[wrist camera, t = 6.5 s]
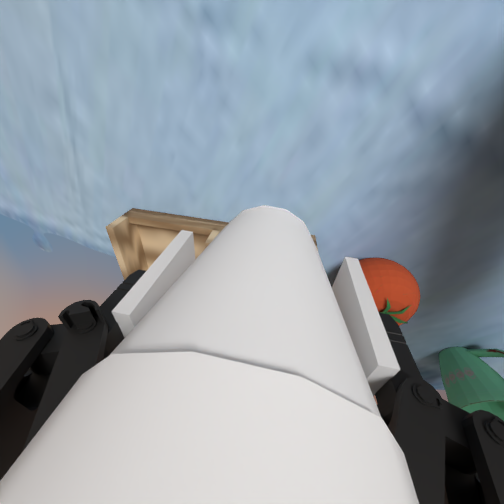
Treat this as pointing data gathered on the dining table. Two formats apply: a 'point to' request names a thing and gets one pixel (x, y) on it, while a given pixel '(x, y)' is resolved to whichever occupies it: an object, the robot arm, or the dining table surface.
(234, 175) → the dining table surface
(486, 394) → the mug
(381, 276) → the tomato
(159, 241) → the rack
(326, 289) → the foam cup
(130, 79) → the dining table surface
